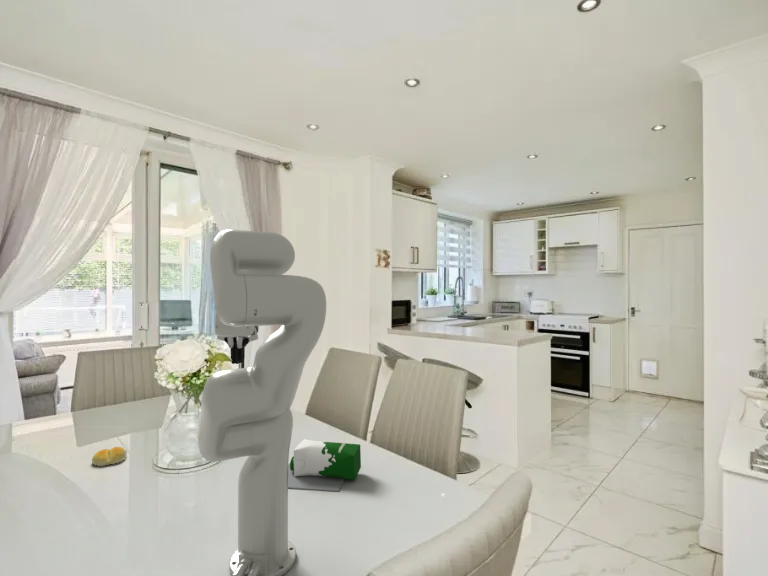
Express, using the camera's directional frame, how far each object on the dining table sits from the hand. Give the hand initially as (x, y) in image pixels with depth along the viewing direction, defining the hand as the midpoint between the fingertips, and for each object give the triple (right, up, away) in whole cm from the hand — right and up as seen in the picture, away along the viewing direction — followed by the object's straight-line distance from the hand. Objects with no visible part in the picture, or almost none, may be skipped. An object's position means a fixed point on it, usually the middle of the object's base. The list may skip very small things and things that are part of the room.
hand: (237, 362), depth 105 cm
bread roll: (-48, -36, +23) cm, 64 cm away
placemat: (+17, -35, +12) cm, 41 cm away
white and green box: (+31, -30, +11) cm, 44 cm away
